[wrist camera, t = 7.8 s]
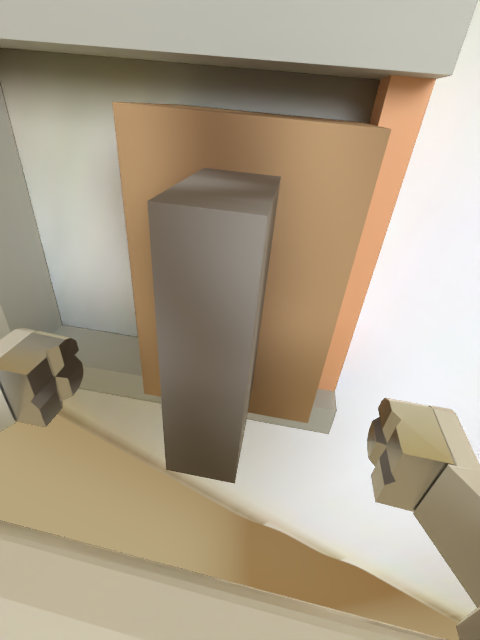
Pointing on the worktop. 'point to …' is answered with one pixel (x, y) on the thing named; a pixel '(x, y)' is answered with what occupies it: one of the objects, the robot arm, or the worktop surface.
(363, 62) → the bay
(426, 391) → the worktop surface
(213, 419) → the brown and grey block
